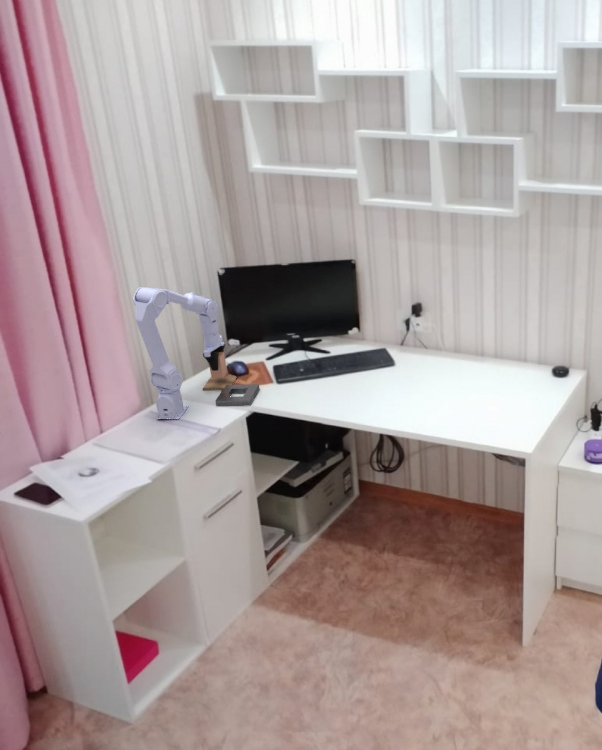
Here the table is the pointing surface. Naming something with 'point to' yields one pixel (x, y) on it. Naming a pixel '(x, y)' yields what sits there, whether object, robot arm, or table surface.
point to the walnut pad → (219, 383)
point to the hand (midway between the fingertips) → (217, 367)
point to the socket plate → (248, 397)
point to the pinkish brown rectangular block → (220, 367)
